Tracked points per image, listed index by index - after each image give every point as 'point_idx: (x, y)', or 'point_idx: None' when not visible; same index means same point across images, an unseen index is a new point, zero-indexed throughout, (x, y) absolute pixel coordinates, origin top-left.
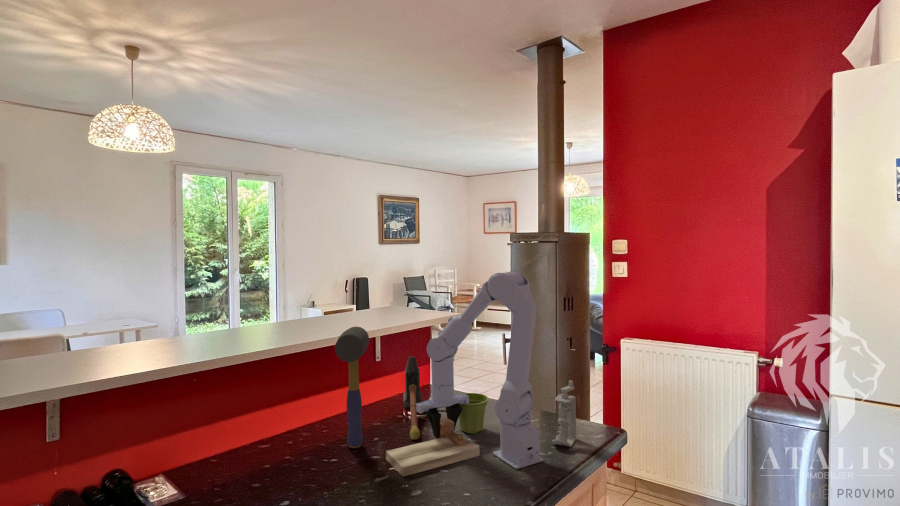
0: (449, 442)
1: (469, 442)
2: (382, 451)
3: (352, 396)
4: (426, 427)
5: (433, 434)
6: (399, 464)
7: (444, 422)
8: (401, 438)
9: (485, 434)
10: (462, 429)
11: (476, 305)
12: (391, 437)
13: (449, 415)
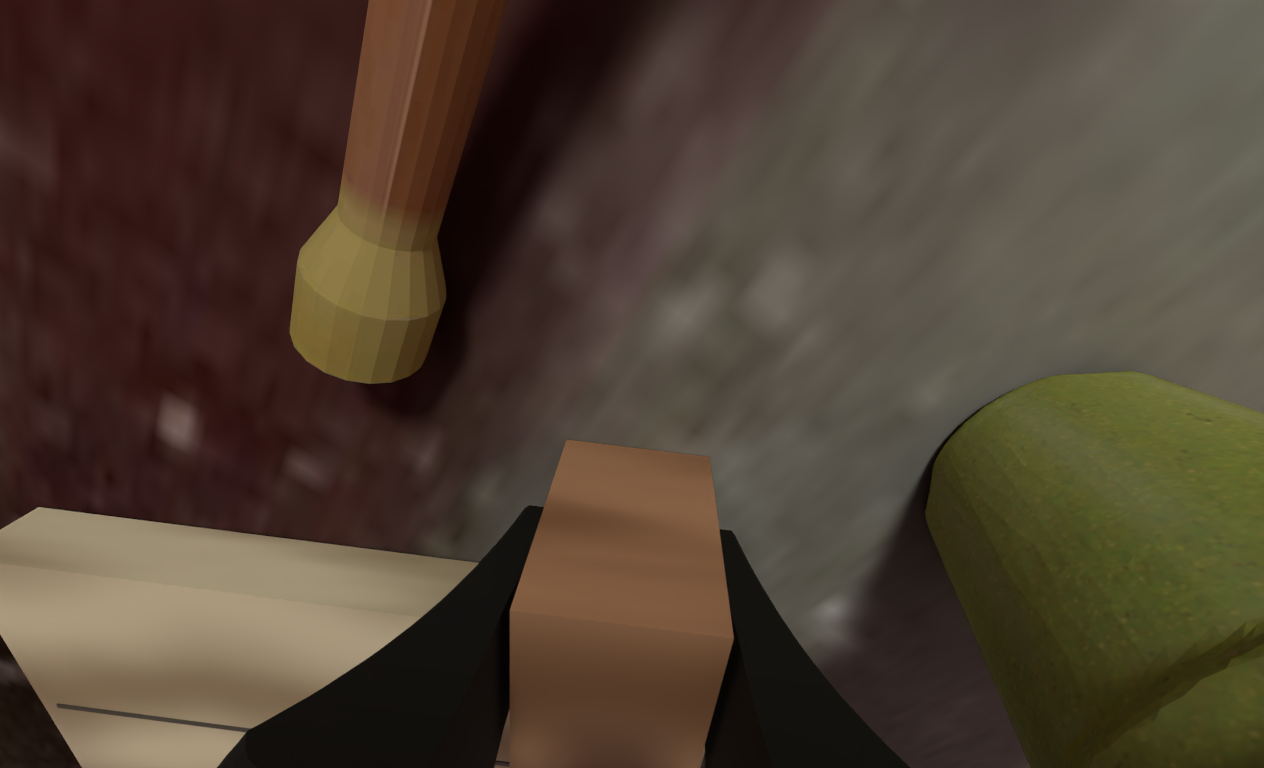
0: None
1: None
2: (4, 361)
3: None
4: (701, 49)
5: (519, 516)
6: (70, 746)
7: (582, 745)
8: (245, 188)
9: None
10: (933, 492)
11: None
12: (120, 65)
13: (732, 759)
